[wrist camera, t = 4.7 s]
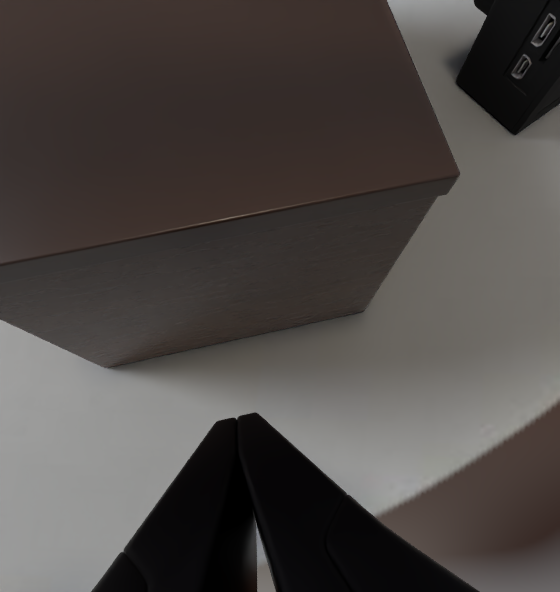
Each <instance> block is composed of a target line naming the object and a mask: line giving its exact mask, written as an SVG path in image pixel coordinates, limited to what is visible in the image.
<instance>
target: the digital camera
mask: <svg viewBox="0 0 560 592" xmlns="http://www.w3.org/2000/svg"><path fill="white" fill-rule="evenodd" d="M474 4H475V6H476V7H477V8H478V9H479V10H481V11H482V12H483V13H485V14H486V15H487V17H486V19H485V21H484V23H483V25H482V28H481V30H480V32H479V34H478V36H477V38H476V40H475V42H474V44H473V46H472V48H471V50H470V52H469V54H468V56H467V58H466V60H465V62H464V64H463V67H462V69H461V71H460V73H459V75H458V77H457V80H456V82H457V84H458V85H460V86H461V87H462V88H463V89H464V90H465V91H466V92H467V93H469V94H470V95H471V96H472V97H473V98H474V99H475V100H477V101H478V102H479V103H480V104H481V105H482V106H483V107H484V108H486V109H487V110H488V111H489V112H490V113H491V114H492V115H493V116H495V117H496V118H497V119H498V120H499V121H500V122H501V123H502V124H504V125H505V126H506V127H507V128H508V129H509V130H510V131H511V132H512V133H513V134H515V135H516V134H517V133H519V132H520V131H521V130H523V129H524V128H526V127H527V126H528V125H530V124H531V123H533V122H534V121H535V120H537V119H538V118H540V117H541V116H542V115H544V114H545V113H546V112H548V111H549V110H551V109H552V108H553V107H555V106H556V105H558V104H559V103H560V0H474Z"/></svg>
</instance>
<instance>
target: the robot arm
mask: <svg viewBox="0 0 560 592" xmlns="http://www.w3.org/2000/svg"><path fill="white" fill-rule="evenodd" d="M255 519H256V521H255ZM256 523H257V527H258V531H259V534H260V538H261V541H262V545H263V548H264V552H265V555H266V558H267V562H268V565H269V568H270V572H271V576H272V579H273V582H274V586H275V589H276V592H479V591H478V590H476V589H475V588H473V587H472V586H470V585H469V584H468V583H466V582H465V581H463V580H462V579H460V578H459V577H457V576H456V575H454V574H453V573H452V572H450V571H449V570H447V569H446V568H444V567H443V566H441V565H440V564H438V563H437V562H435V561H434V560H433V559H431V558H430V557H428V556H427V555H425V554H424V553H422V552H421V551H420V550H418V549H417V548H415V547H414V546H412V545H411V544H410V543H408V542H407V541H405V540H404V539H403V538H401V537H400V536H398V535H397V534H396V533H394V532H393V531H392V530H390V529H389V528H387V527H386V526H385V525H384V524H382V523H381V522H380V521H379V520H378V519H377V518H375V517H374V516H373V515H372V514H370V513H369V512H368V511H367V510H366V509H364V508H363V507H362V506H361V505H360V504H359V503H358V502H357V501H356V500H354V499H353V498H352V497H351V496H350V495H347V493H346V492H345V491H344V490H342V489H341V488H340V487H339V486H338V485H337V484H336V483H335V482H334V481H332V480H331V479H330V478H329V477H328V476H327V475H326V474H325V473H324V472H322V471H321V470H320V469H319V468H318V467H317V466H316V465H315V464H314V463H312V462H311V461H310V460H309V459H308V458H307V457H306V456H305V455H304V454H302V453H301V452H300V451H299V450H298V449H297V448H296V447H295V446H294V445H292V444H291V443H290V442H289V441H288V440H287V439H286V438H285V437H283V436H282V435H281V434H280V433H279V432H278V431H277V430H276V429H275V428H273V427H272V426H271V425H270V424H269V423H268V422H267V421H266V420H265V419H263V418H262V417H261V416H260V415H259V414H258V413H250V414H246V415H242V416H239V417H238V419H236V418H229V419H225V420H220V421H217V422H216V423H215V424H214V425H213V427H212V428H211V430H210V431H209V432H208V434H207V435H206V437H205V438H204V439H203V441H202V442H201V443H200V445H199V446H198V448H197V449H196V450H195V452H194V453H193V454H192V456H191V457H190V459H189V460H188V461H187V463H186V464H185V465H184V467H183V468H182V470H181V471H180V472H179V474H178V475H177V477H176V478H175V479H174V481H173V482H172V483H171V485H170V486H169V488H168V489H167V490H166V492H165V493H164V494H163V496H162V497H161V499H160V500H159V501H158V503H157V504H156V505H155V507H154V508H153V510H152V511H151V512H150V514H149V515H148V516H147V518H146V519H145V521H144V522H143V523H142V525H141V526H140V528H139V529H138V530H137V532H136V533H135V534H134V536H133V537H132V539H131V540H130V541H129V543H128V544H127V545H126V547H125V548H124V552H121V553H120V554H119V555H118V557H117V558H116V559H115V561H114V562H113V563H112V565H111V566H110V568H109V569H108V570H107V572H106V573H105V574H104V576H103V577H102V578H101V580H100V581H99V582H98V584H97V585H96V586H95V587H94V589H93V590H92V591H91V592H257V543H256Z"/></svg>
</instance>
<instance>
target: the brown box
mask: <svg viewBox="0 0 560 592" xmlns="http://www.w3.org/2000/svg"><path fill="white" fill-rule="evenodd" d="M459 176H460V172H459V169H458V167H457V165H456V162H455V160H454V158H453V155H452V153H451V151H450V148H449V146H448V144H447V141H446V139H445V136H444V134H443V132H442V129H441V127H440V125H439V122H438V120H437V118H436V115H435V113H434V111H433V108H432V106H431V104H430V101H429V99H428V96H427V94H426V92H425V89H424V87H423V85H422V82H421V80H420V78H419V75H418V73H417V71H416V68H415V66H414V63H413V61H412V59H411V56H410V54H409V52H408V49H407V47H406V45H405V42H404V40H403V38H402V35H401V33H400V30H399V28H398V26H397V23H396V21H395V19H394V16H393V14H392V12H391V9H390V7H389V5H388V2H387V0H0V320H3V321H5V322H7V323H9V324H11V325H13V326H15V327H18V328H20V329H22V330H24V331H26V332H28V333H31V334H33V335H35V336H37V337H39V338H41V339H43V340H46V341H48V342H50V343H52V344H54V345H56V346H58V347H61V348H63V349H65V350H67V351H69V352H71V353H74V354H76V355H78V356H80V357H82V358H84V359H86V360H89V361H91V362H93V363H95V364H97V365H99V366H101V367H104V368H108V367H112V366H117V365H121V364H126V363H131V362H135V361H140V360H144V359H149V358H153V357H158V356H163V355H167V354H172V353H176V352H181V351H185V350H190V349H194V348H199V347H204V346H208V345H213V344H217V343H222V342H226V341H231V340H235V339H240V338H245V337H249V336H254V335H258V334H263V333H267V332H272V331H277V330H281V329H286V328H290V327H295V326H299V325H304V324H308V323H313V322H318V321H322V320H327V319H331V318H336V317H340V316H345V315H349V314H354V313H359V312H363V311H364V310H365V309H366V307H367V306H368V304H369V303H370V301H371V300H372V298H373V296H374V295H375V293H376V292H377V290H378V289H379V287H380V285H381V284H382V282H383V281H384V279H385V278H386V276H387V275H388V273H389V271H390V270H391V268H392V267H393V265H394V264H395V262H396V261H397V259H398V257H399V256H400V254H401V253H402V251H403V250H404V248H405V246H406V245H407V243H408V242H409V240H410V239H411V237H412V236H413V234H414V232H415V231H416V229H417V228H418V226H419V225H420V223H421V222H422V220H423V218H424V217H425V215H426V214H427V212H428V211H429V209H430V208H431V206H432V204H433V203H434V201H435V200H436V198H437V197H438V196H441V195H446V194H447V193H448V192H449V191H450V189H451V188H452V186H453V185H454V183H455V182H456V180H457V179H458V177H459Z"/></svg>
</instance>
